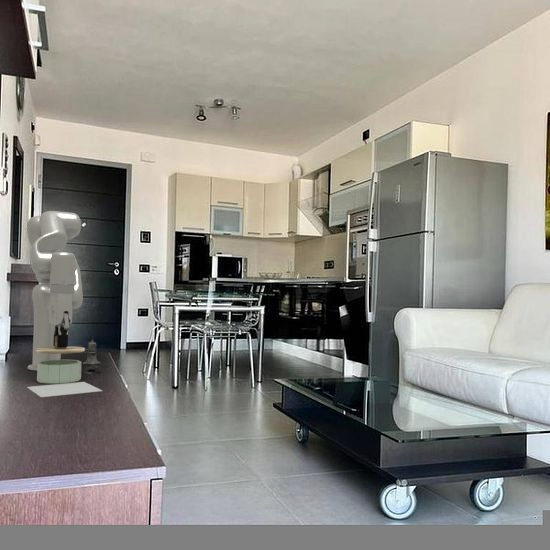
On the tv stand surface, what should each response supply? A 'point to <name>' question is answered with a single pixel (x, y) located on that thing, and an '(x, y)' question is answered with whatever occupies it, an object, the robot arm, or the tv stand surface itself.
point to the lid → (59, 349)
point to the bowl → (58, 371)
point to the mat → (63, 389)
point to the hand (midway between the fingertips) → (60, 346)
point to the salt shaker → (91, 359)
